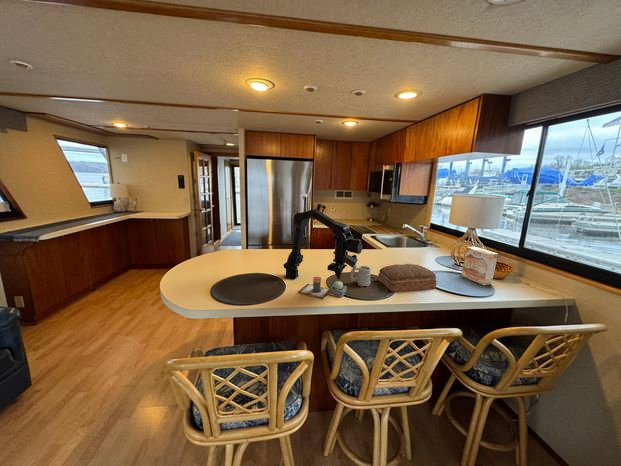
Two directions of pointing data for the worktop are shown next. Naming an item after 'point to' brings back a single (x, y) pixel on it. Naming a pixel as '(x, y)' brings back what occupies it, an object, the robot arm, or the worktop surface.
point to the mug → (361, 275)
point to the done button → (338, 285)
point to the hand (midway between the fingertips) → (338, 278)
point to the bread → (407, 277)
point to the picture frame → (309, 291)
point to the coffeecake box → (479, 265)
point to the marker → (316, 284)
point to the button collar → (337, 291)
